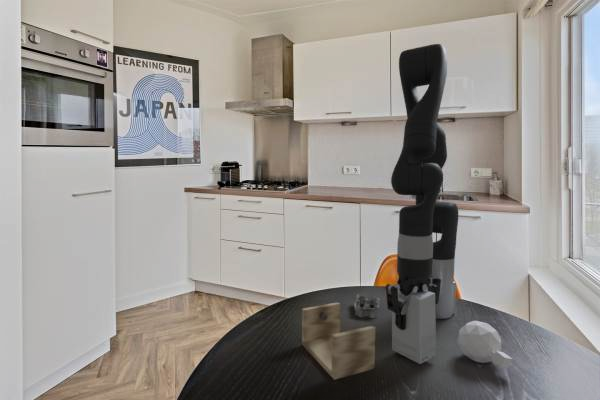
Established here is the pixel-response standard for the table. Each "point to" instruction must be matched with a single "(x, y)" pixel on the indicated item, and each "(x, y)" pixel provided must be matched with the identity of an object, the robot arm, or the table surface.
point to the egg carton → (366, 306)
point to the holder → (337, 342)
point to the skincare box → (417, 328)
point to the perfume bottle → (482, 344)
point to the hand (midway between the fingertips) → (412, 325)
